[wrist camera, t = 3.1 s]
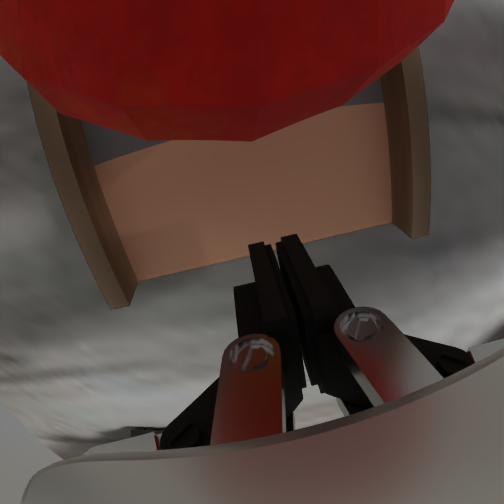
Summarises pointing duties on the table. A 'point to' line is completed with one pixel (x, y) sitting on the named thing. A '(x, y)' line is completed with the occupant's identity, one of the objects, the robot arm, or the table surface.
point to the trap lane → (240, 183)
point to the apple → (208, 59)
